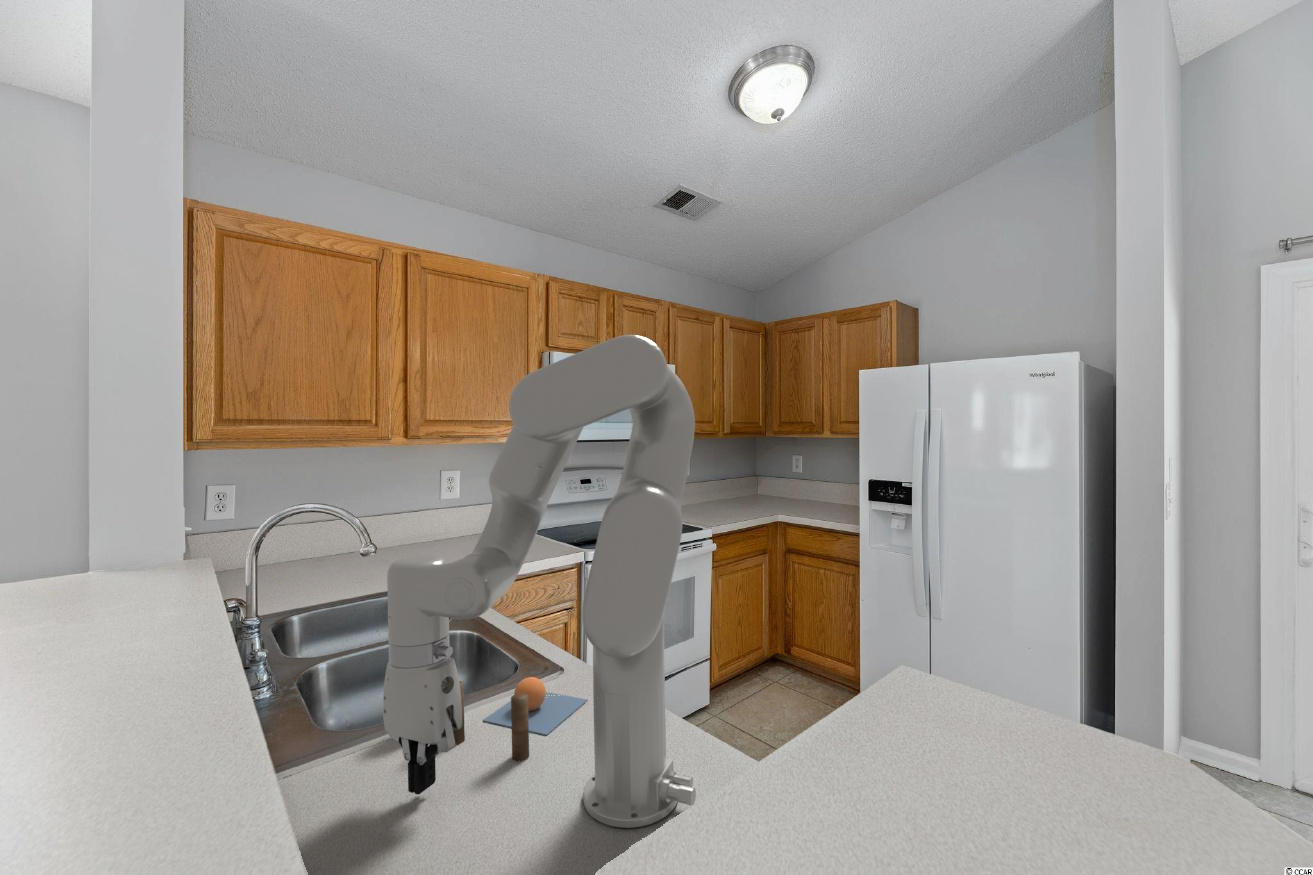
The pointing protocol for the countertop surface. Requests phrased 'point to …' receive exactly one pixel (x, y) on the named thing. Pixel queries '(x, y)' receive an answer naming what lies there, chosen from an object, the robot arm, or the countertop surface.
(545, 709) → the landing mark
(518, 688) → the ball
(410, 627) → the robot arm
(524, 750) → the post near
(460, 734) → the post far
